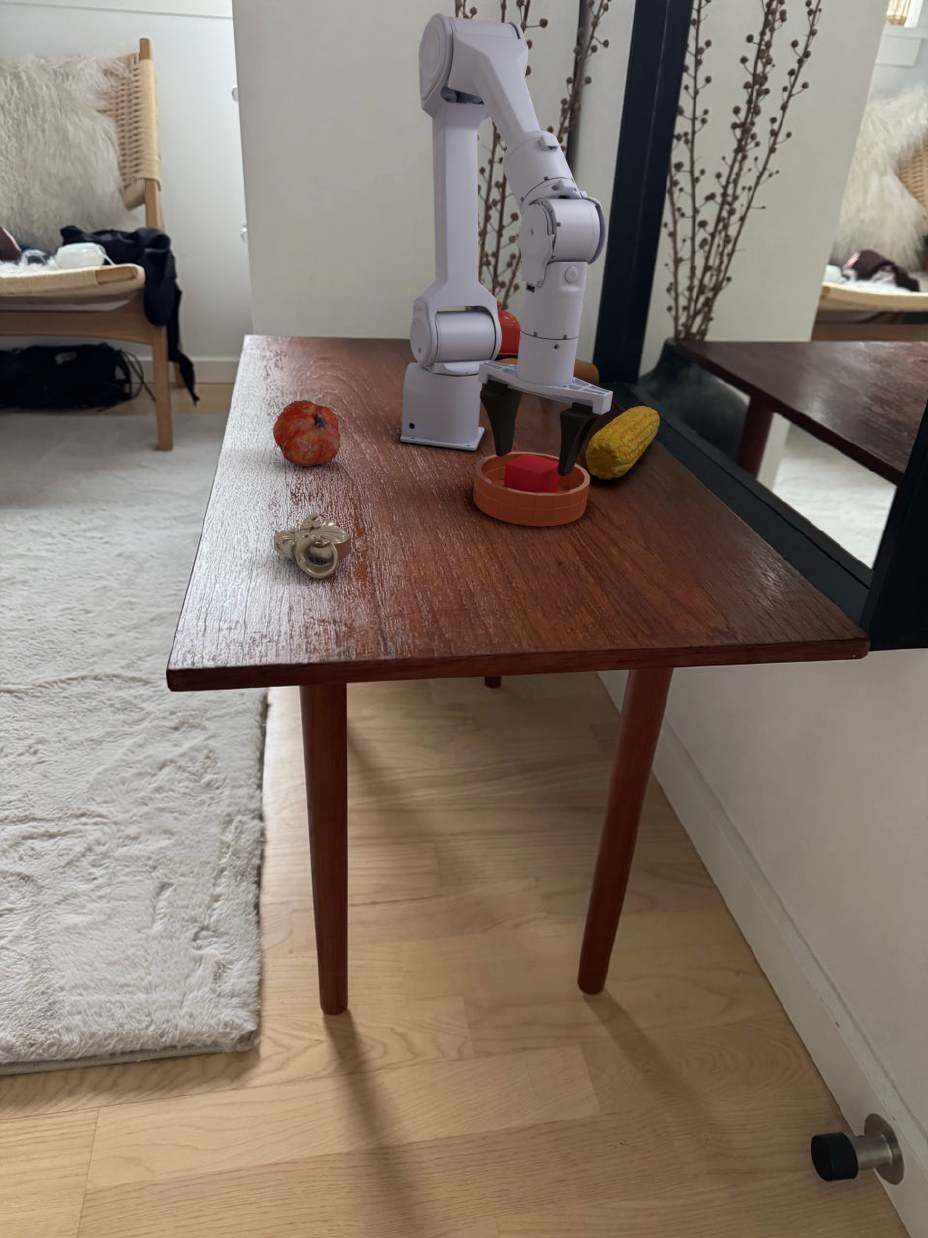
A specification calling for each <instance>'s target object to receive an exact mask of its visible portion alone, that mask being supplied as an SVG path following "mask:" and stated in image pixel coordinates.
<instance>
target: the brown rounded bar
mask: <svg viewBox="0 0 928 1238" xmlns="http://www.w3.org/2000/svg"><path fill="white" fill-rule="evenodd" d="M495 362H499V363H505V364H512V365H517V362H518V358H502V359H499V360H495ZM573 377H575V378H577V379H580V380H582V381H584V382H587V383H589V384H592V385H594V386H597V387H599V384H600V382H599V381H600V373H599V369H598V368H597V366H596V365H595V364H593V362H590V361H589V362H588V361H585V360H580V359H576V358H575V365H574V373H573ZM486 386H487V384H484V383H482V390H483V389H486Z"/></svg>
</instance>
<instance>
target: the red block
mask: <svg viewBox="0 0 928 1238" xmlns="http://www.w3.org/2000/svg"><path fill="white" fill-rule="evenodd" d="M559 479H560V475H558V462H555V461H551V460H548V459H545V458H541V457H538V456H535V455H531V454H528V453H526V454H524V455H522V456H520V457H518V458H516V459H514V460H512V461H510V462H508V463H506V465H505V475H504V485H503V487H507V488H511V489H514V490H518V491H524V492H532V493H558V486H559Z"/></svg>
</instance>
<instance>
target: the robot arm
mask: <svg viewBox="0 0 928 1238" xmlns="http://www.w3.org/2000/svg"><path fill="white" fill-rule="evenodd" d="M528 62H529V45H528V44H527V40H526V37H525V34H524V31H523V29H522V27H521V26H520V24H519V23H518V22H513V21H509V22H508V21H507V22H499V21H492V20H491V21H490V20H482V19H473V18H466V17H458V16H457V17H456V16H450V15H449V16H448V15H445V14H444V13H441V12H438V13H437V12H436V13H434V14H433V15H432V16H431V17H430V19H429V20H428V22H427V23H426V25H425V26H424V29H423V32H422V36H421V40H420V43H419V47H418V77H419V78H418V80H419V83H418V84H419V96H420V109H421V110H422V111H423V112H424V113H426V115H428V116H429V117H430V118H431V125H432V126H431V131H432V132H431V133H432V134H431V135H432V177H433V178H432V179H433V182H432V183H433V223H434V226H433V227H434V228H433V229H434V262H435V263H434V265H435V266H434V267H435V269H434V271H435V279H434V281H433V282H432V283H431V284H430V285H429V286H427V287H426V288H425V289H424V290H423V291H422V292H420V293H419V294H418V295H417V296H416V297H415V298H414V300H413V304H412V320H411V323H410V329H409V345H410V348H411V353H412V355H413V358H414V360H416V361H417V362H409V363H408V365H407V367H406V371H405V374H404V381H403V388H402V389H403V391H402V410H401V411H402V412H401V413H402V414H401V436H400V438H399V439H400V440H399V441H401V442H403V443H409V444H410V443H411V444H419V445H426V446H434V447H442V448H449V449H456V450H457V449H458V450H464V451H472V452H473V451H476V450H477V449H478V446H479V444H480V442H481V440H482V437H483V435H484V433H485V427H484V426H479V425H480V413H481V412H480V411H481V403H482V405H483V407H484V409H485V412H486V414H487V418H488V420H489V423H490V428H491V432H492V436H493V442H494V443H493V444H494V449H495V450H494V451H495V454H496V456H499V457H502V456H504V455H506V454H508V453H510V452H512V450H513V446H514V440H515V439H514V438H515V428H516V421H517V415H518V410H519V406H520V404H521V400H522V396H523V393H527V394H530V395H534V396H538V397H541V398H545V399H549V400H553V401H557V402H561V403H565V404H568V405H571V407H569V408H567V409H564V410H562V411H560V412H559V422H560V448H559V449H560V450H559V456H558V457H559V462H558V475H561V476H566V475H568V474H569V473H571V472H573V469H574V466H575V463H576V462H577V460H578V458H579V455H580V453H581V450H582V449H583V446H584V444H585V442H586V441H587V439H588V437H589V435H590V434H591V432H592V430H593V429H594V428H595V426H596V425H597V423H598V422H599V420H600V419H601V418H602V417H603V416H604V414H606V413H608V412H609V411H611V406H612V400H613V393H614V391H612V390H608V389H604V388H602V387H599V386H598V387H597V386H594V385H592V384H589V383H587V382H584V381H582V380H580V379H577V378H575V377H573V373H574V365H575V359H576V357H577V350H578V344H579V343H578V342H579V336H580V330H581V329H580V328H581V322H582V315H583V308H584V307H583V306H584V299H585V293H586V285H587V279H588V271H589V265H591V264H594V263H595V262H596V261H598V259H599V257H600V256H601V254H602V252H603V249H604V246H605V242H606V236H607V223H606V217H605V213H604V209H603V206H602V203H601V202H600V201H599V200H598V199H597V198H595V197H591V196H588V194H587V191H584V190H580V189H579V188H578V185H577V183H576V181H575V179H574V176H573V174H572V171H571V169H570V167H569V165H568V162H567V160H566V157H565V155H564V151H563V149H562V148H561V145H560V142H559V140H558V139H557V136H556V135H554V134H553V133H552V132H550V131H546V130H542V129H541V126H540V124H539V120H538V117H537V113H536V110H535V107H534V104H533V100H532V97H531V94H530V91H529V88H528V84H527V80H526V73H527V67H528ZM488 118H491V119H492V122H493V123H494V125H495V127H496V129H497V132H498V133H499V136H500V138H501V139H502V142H503V143H504V145H505V147H506V150H505V152H504V154H503V157H502V163H501V165H502V170H503V173H504V176H505V178H506V181H507V184H508V186H509V188H510V191H511V194H512V196H513V198H514V201H515V204H516V206H517V209H518V212H519V213H520V216H521V221H520V222H521V223H520V225H519V226H518V246H519V252H520V255H521V267H520V268H521V269H520V274H521V280H522V281H523V282H525V286H524V295H523V305H522V313H521V314H522V315H521V323H520V324H521V325H520V330H521V333H520V343H519V352H518V356H517V359H518V362H517V365H512V364H505V363H499V362H496V359H497V358H496V356H497V354H498V353H499V350H500V347H501V341H502V333H501V326H500V323H499V319H498V312H497V298H496V297H495V296H494V295H493V294H492V293H491V292H490V291H489V290H488V289H487V288H486V287H484V286H483V285H482V284H481V282H480V281H479V185H478V184H479V176H478V175H479V170H478V169H479V165H478V164H479V159H478V157H479V155H478V154H479V153H478V152H479V151H478V148H479V147H478V145H479V144H478V142H479V141H478V140H479V139H478V138H479V137H478V133H479V132H478V131H479V129H480V126H481V125H482V123H483V122H484V120H486V119H488ZM447 307H448V308H450V307H469V308H471V309H467V310H466V309H465V310H462V309H461V310H441V309H442V308H447ZM482 383H484V384H487V386H486V387H485V389H482ZM576 464H577V463H576Z"/></svg>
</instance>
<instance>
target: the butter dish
mask: <svg viewBox="0 0 928 1238" xmlns="http://www.w3.org/2000/svg"><path fill="white" fill-rule="evenodd" d="M496 300H497V299H496ZM501 307H502V302H501V301H500V300H497V312H498V319H499V323H500V326H501V333H502V341H501V347H500V350H499V353H498V354H497V356H496V358H495V359H508V358H514V359H516V358H518V352H519V343H520V333H521V325H520V322H519V320H518V319H517V317H516V316H515V315H514V314H512V313H510V312H509V311H506V310H502V309H500V308H501Z"/></svg>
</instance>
